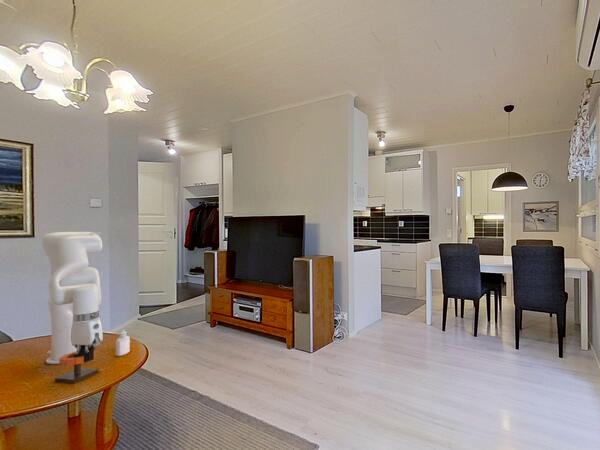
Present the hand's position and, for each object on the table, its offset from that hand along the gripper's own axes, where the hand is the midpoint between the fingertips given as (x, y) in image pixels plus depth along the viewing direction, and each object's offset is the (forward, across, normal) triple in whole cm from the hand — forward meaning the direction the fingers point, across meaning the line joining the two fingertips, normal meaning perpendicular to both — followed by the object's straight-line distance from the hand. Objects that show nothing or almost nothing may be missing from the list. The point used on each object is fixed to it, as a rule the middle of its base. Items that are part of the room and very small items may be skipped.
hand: (86, 360), depth 127 cm
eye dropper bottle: (+7, +8, -22) cm, 25 cm away
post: (+7, +4, 0) cm, 8 cm away
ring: (0, +4, 0) cm, 4 cm away
